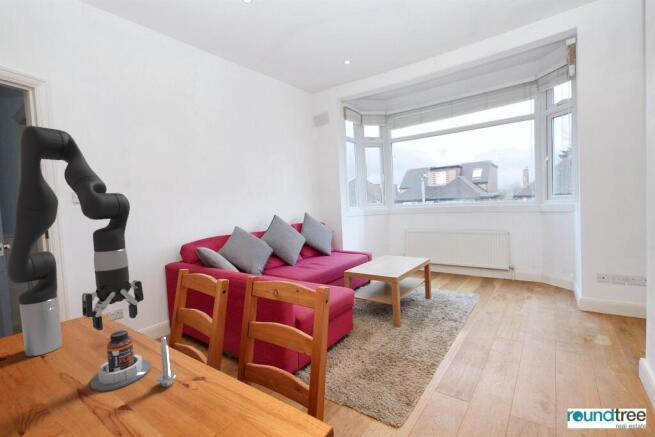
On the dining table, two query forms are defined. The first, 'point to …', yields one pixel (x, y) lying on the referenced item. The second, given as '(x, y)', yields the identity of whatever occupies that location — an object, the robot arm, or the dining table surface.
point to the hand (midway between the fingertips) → (116, 323)
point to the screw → (165, 366)
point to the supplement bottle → (120, 351)
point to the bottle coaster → (120, 384)
